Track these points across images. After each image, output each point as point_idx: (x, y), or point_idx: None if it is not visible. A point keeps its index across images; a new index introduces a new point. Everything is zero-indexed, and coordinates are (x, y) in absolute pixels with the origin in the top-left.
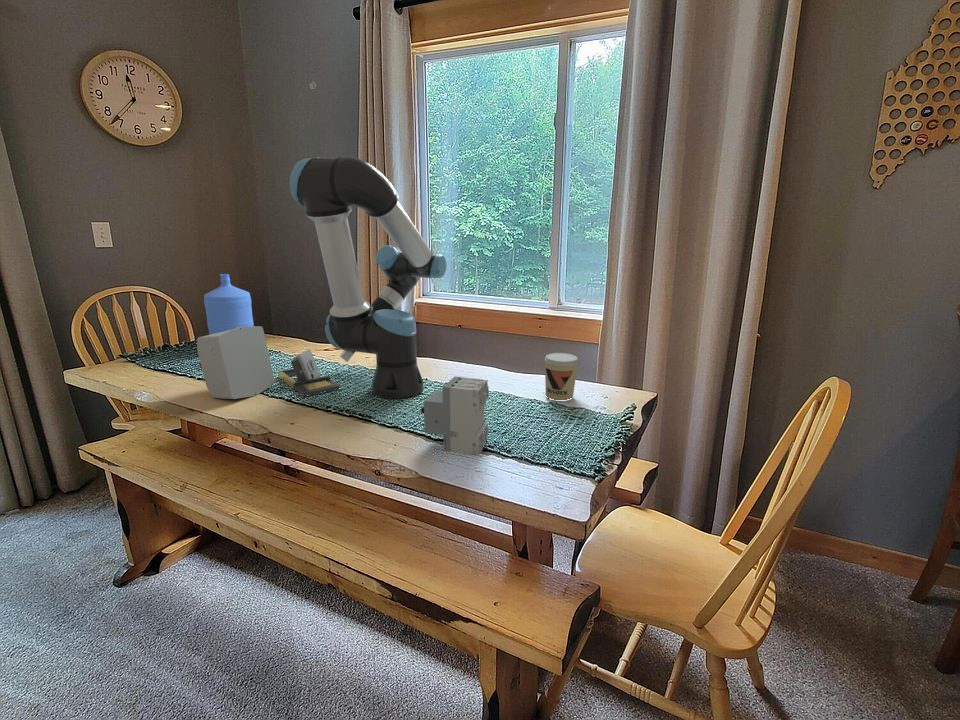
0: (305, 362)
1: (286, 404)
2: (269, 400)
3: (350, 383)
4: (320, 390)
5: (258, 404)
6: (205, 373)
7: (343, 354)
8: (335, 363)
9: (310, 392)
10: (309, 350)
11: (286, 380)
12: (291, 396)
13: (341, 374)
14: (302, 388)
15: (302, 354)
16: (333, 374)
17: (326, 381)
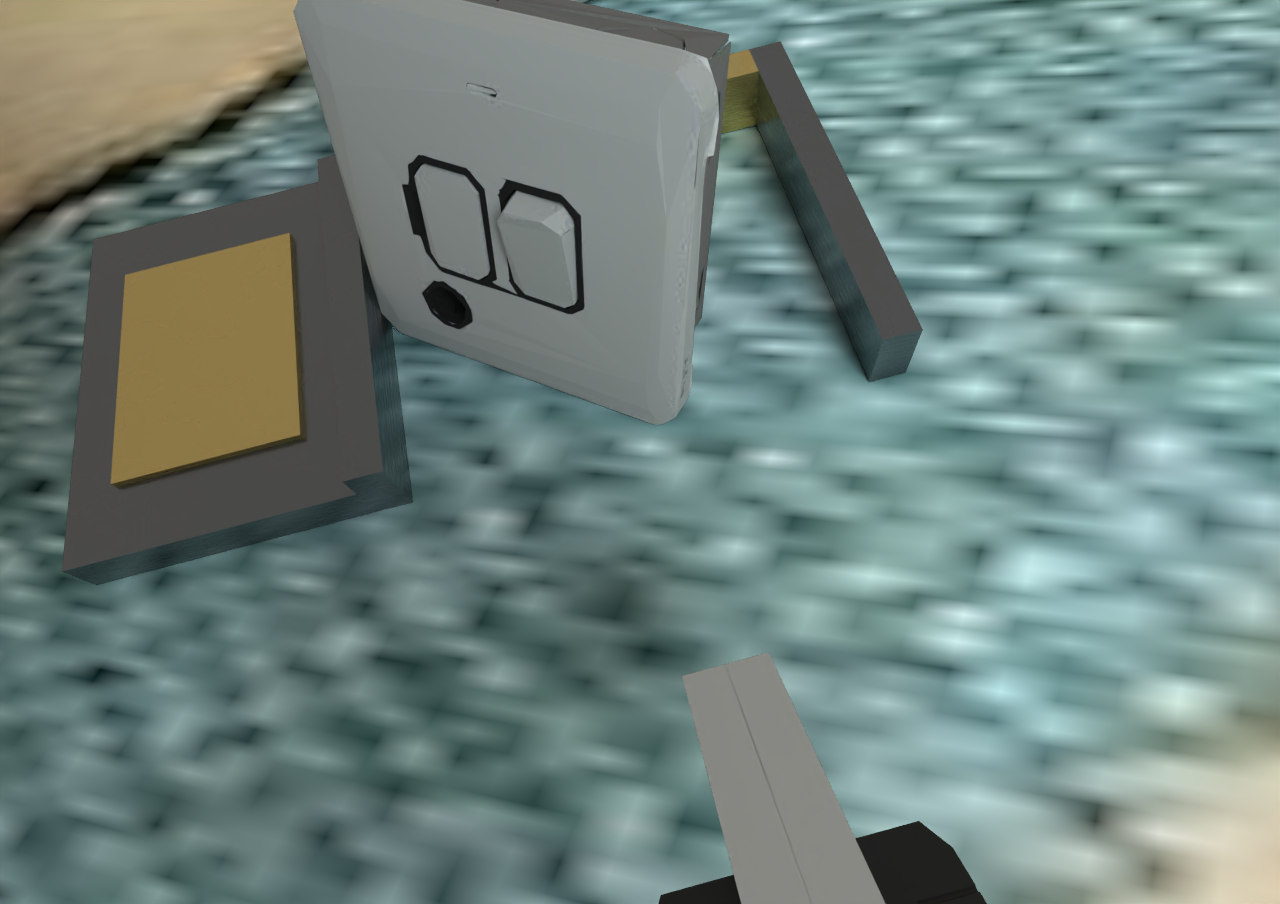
0: (374, 119)
1: (57, 159)
2: (218, 69)
3: (211, 731)
4: (87, 374)
5: (186, 22)
6: None
7: (704, 714)
8: (1242, 695)
9: (93, 293)
10: (649, 88)
11: None
12: (202, 186)
13: (631, 687)
14: (217, 234)
15: (392, 2)
16: (673, 586)
17: (257, 440)
